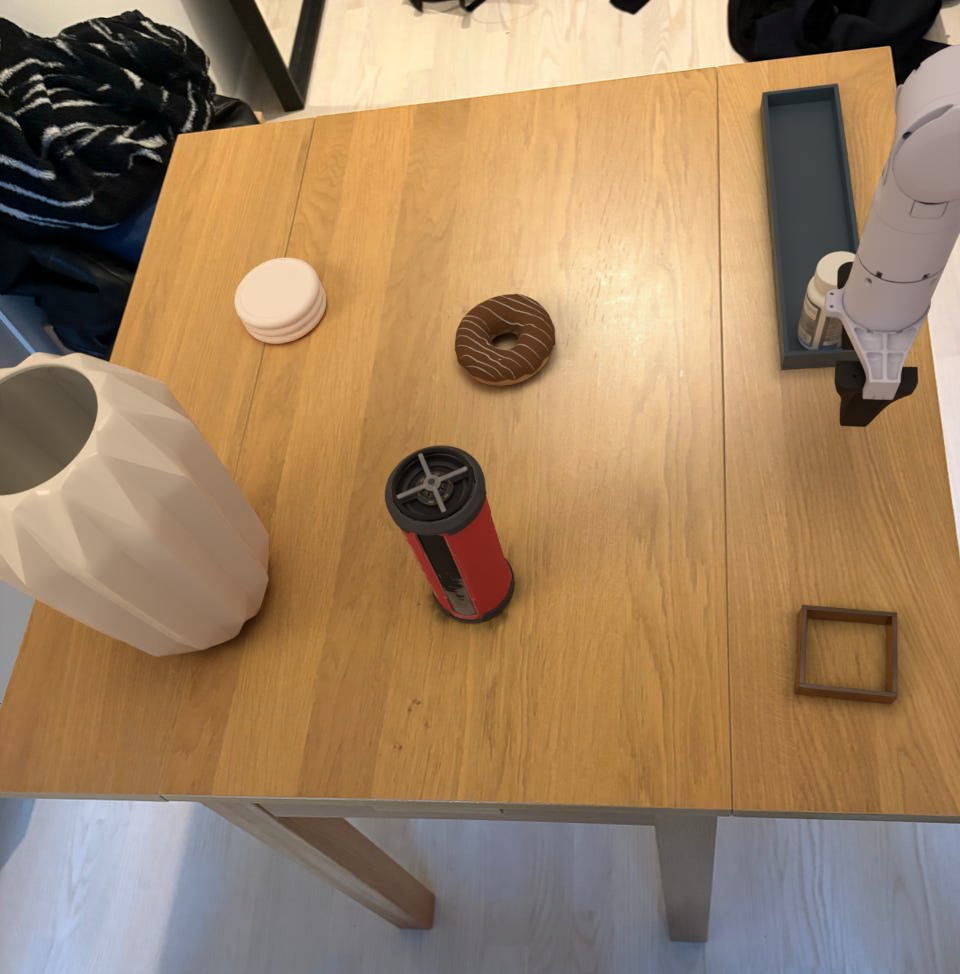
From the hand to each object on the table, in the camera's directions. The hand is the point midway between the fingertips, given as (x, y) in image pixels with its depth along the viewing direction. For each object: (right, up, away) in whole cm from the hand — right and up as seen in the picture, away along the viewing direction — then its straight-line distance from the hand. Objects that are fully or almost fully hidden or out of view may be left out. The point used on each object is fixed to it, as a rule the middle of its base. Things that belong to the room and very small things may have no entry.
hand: (854, 384), depth 67 cm
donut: (-28, +9, +20) cm, 35 cm away
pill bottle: (+3, +9, +13) cm, 16 cm away
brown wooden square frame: (0, -23, +1) cm, 23 cm away
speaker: (-31, -16, +10) cm, 36 cm away
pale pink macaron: (-53, +17, +28) cm, 62 cm away
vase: (-58, -17, +15) cm, 62 cm away
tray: (+4, +23, +19) cm, 30 cm away
